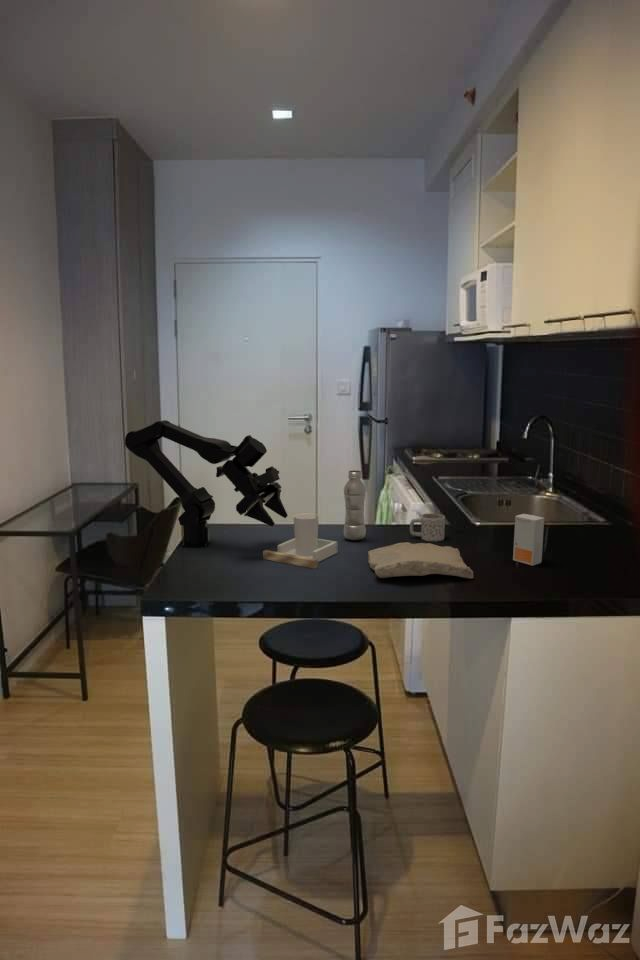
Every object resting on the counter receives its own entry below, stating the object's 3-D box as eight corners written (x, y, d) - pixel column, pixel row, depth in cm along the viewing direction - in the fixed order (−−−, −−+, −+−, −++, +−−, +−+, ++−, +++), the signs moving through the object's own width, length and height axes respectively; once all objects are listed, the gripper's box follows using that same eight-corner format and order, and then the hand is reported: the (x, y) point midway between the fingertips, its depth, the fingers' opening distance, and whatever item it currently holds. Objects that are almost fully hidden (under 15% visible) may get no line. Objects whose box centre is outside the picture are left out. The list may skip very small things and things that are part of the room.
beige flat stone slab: (477, 589, 155) (458, 555, 174) (478, 559, 153) (459, 528, 172) (373, 593, 155) (365, 559, 174) (372, 563, 153) (365, 532, 172)
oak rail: (263, 558, 175) (262, 551, 175) (266, 557, 176) (266, 549, 176) (314, 568, 167) (314, 561, 166) (317, 567, 168) (317, 559, 168)
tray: (313, 564, 170) (313, 553, 170) (275, 557, 176) (275, 546, 176) (337, 552, 180) (337, 541, 180) (300, 546, 186) (300, 535, 186)
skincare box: (512, 560, 172) (514, 515, 170) (521, 557, 175) (524, 513, 173) (532, 566, 168) (535, 520, 166) (542, 562, 170) (545, 517, 168)
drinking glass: (323, 553, 177) (323, 517, 175) (300, 557, 174) (300, 520, 172) (311, 547, 183) (311, 512, 181) (289, 551, 180) (289, 514, 178)
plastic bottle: (366, 536, 196) (366, 469, 192) (365, 543, 189) (365, 473, 185) (344, 536, 196) (344, 469, 192) (342, 542, 190) (342, 473, 186)
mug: (442, 535, 197) (442, 513, 196) (445, 541, 190) (446, 518, 189) (408, 535, 197) (408, 513, 196) (410, 541, 191) (411, 518, 189)
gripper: (245, 463, 169) (286, 509, 167) (274, 453, 186) (311, 494, 185) (218, 492, 173) (258, 537, 171) (249, 479, 190) (285, 520, 189)
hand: (280, 520), depth 179 cm, fingers open, 9 cm apart
